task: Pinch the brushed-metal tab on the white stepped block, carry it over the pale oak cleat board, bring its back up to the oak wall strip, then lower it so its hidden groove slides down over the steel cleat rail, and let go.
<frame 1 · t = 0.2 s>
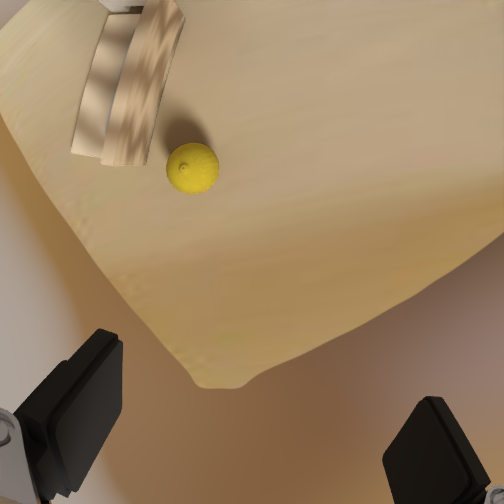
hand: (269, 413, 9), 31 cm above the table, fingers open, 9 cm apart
cleat board: (125, 83, 35), on the table
lemon: (201, 167, 37), on the table
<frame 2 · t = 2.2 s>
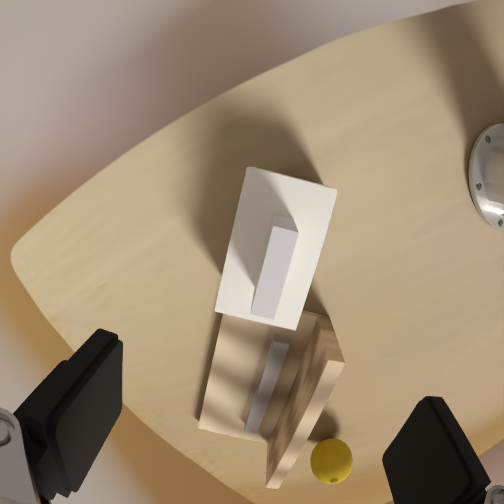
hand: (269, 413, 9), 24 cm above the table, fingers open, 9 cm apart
cleat board: (256, 378, 36), on the table
lemon: (328, 439, 39), on the table
white stepped block: (273, 234, 32), on the table
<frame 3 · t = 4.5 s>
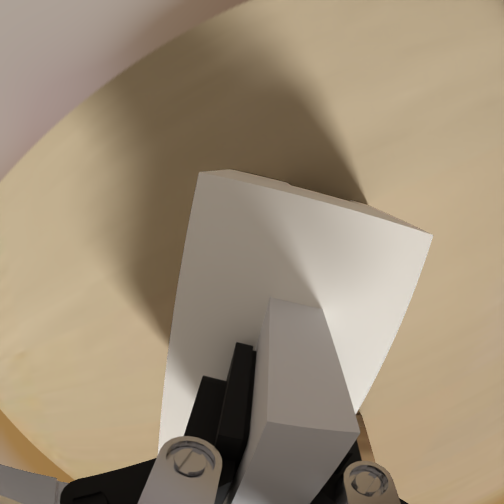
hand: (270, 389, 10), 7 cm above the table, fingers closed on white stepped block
cleat board: (248, 483, 21), on the table
white stepped block: (271, 299, 17), on the table, touching gripper
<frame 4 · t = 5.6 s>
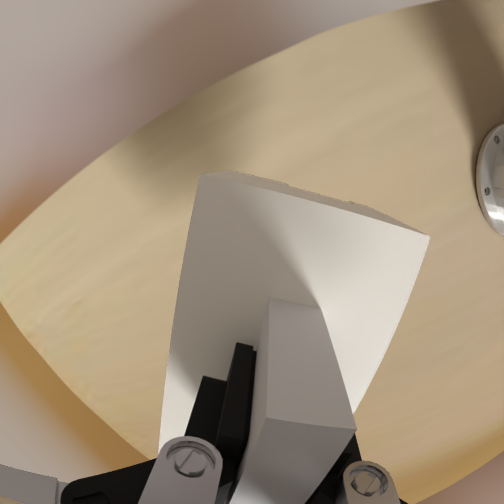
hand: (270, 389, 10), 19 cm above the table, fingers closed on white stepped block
white stepped block: (271, 299, 17), point 12 cm above the table, touching gripper
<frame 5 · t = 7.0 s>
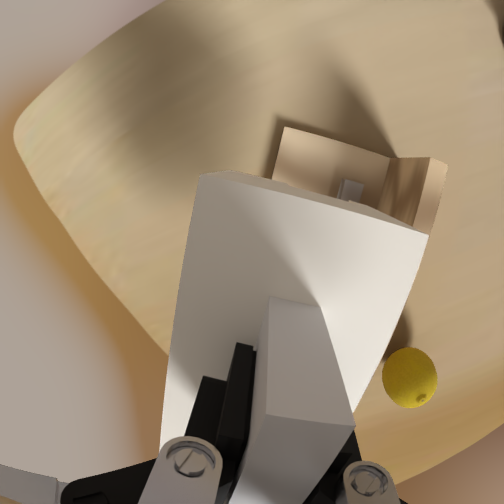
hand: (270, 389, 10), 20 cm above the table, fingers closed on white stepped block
cleat board: (316, 252, 29), on the table
lemon: (396, 355, 32), on the table
white stepped block: (271, 298, 17), point 13 cm above the table, touching gripper
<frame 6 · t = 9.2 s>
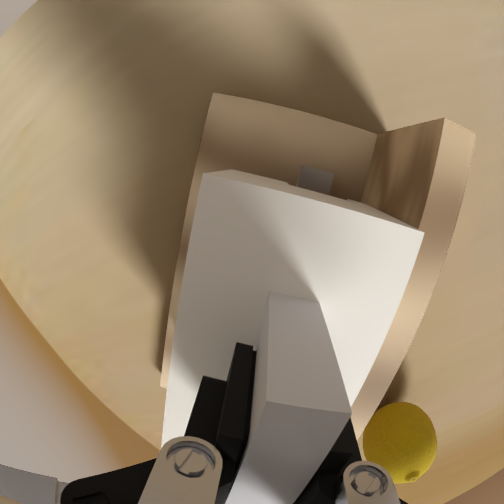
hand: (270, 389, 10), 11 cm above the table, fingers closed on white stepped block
cleat board: (267, 275, 20), on the table
lemon: (385, 406, 23), on the table
white stepped block: (271, 295, 17), point 3 cm above the table, touching gripper
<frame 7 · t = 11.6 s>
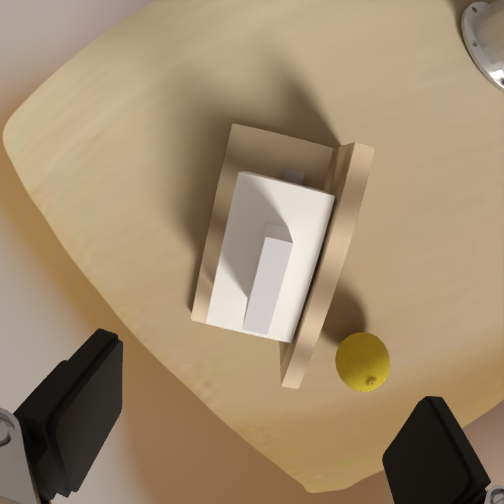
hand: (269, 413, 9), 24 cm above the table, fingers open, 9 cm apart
cleat board: (265, 238, 32), on the table
lemon: (353, 340, 34), on the table
white stepped block: (267, 242, 31), point 1 cm above the table, touching cleat board
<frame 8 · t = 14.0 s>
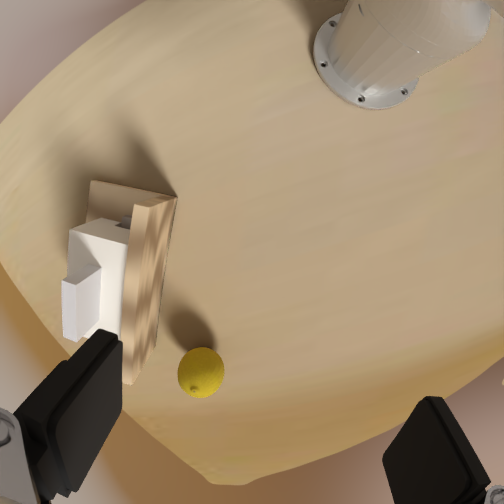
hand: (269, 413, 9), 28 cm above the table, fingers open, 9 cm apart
cleat board: (123, 267, 38), on the table
lemon: (207, 353, 41), on the table
white stepped block: (121, 271, 37), point 1 cm above the table, touching cleat board
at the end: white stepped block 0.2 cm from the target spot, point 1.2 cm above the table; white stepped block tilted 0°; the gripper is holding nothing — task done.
